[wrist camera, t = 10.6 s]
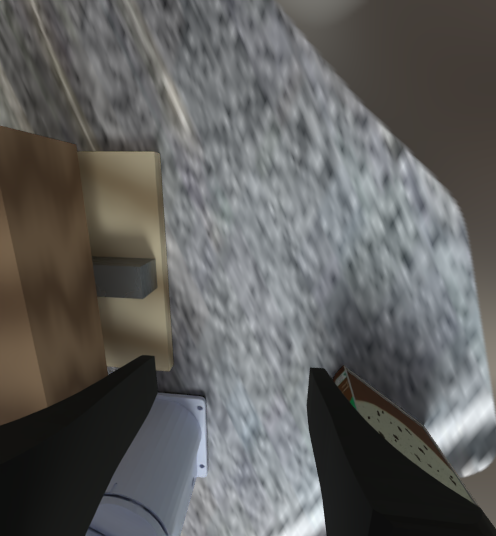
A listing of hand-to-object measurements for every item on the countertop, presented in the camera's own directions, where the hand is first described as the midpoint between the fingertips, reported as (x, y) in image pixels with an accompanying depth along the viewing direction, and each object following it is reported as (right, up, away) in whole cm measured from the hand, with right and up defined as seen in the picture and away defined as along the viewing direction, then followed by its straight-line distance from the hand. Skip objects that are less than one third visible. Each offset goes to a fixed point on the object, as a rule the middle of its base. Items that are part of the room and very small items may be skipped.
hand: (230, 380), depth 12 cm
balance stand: (-12, +5, +11) cm, 17 cm away
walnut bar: (-12, +4, +7) cm, 15 cm away
